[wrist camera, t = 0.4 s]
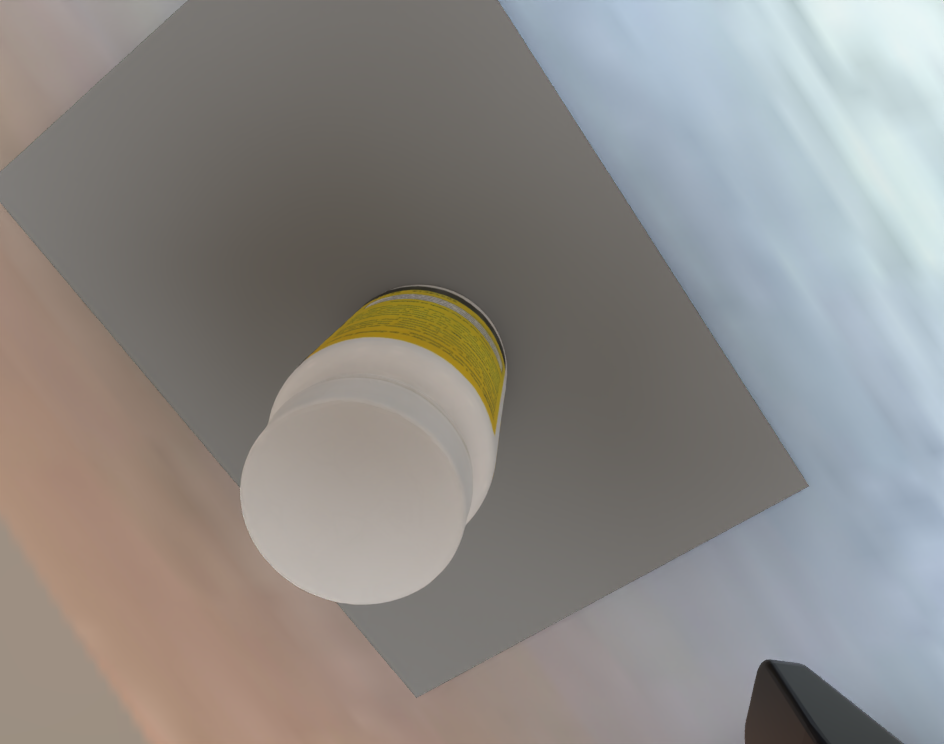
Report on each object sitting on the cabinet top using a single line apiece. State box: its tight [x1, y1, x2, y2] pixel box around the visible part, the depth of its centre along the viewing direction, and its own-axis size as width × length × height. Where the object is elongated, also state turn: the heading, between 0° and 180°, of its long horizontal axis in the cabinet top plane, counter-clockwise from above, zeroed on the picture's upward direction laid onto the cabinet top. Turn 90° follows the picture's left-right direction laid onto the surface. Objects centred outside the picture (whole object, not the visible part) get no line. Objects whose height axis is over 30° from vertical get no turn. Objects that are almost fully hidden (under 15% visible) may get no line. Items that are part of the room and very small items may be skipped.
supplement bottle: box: [240, 285, 507, 605], centre depth 16 cm, size 5×5×8 cm
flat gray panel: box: [0, 0, 809, 698], centre depth 20 cm, size 20×14×1 cm
